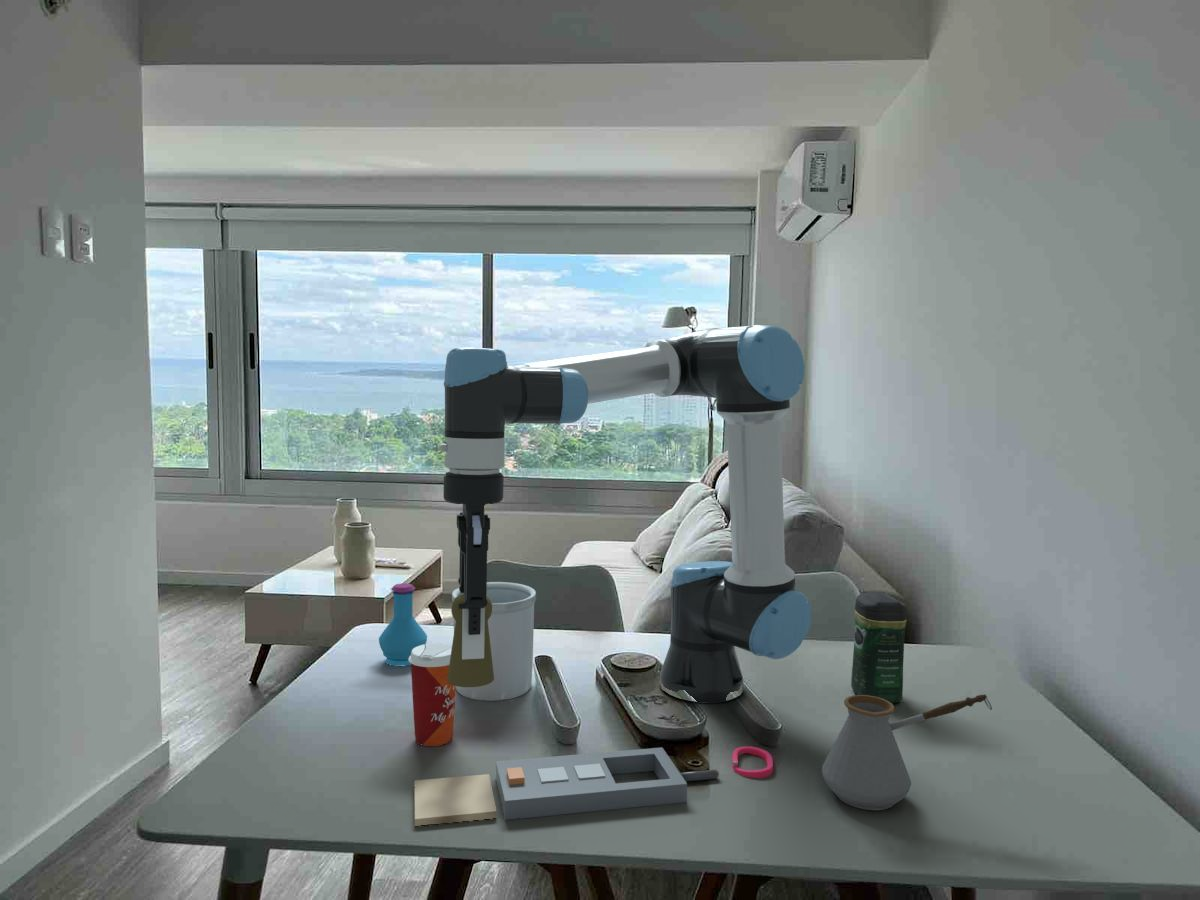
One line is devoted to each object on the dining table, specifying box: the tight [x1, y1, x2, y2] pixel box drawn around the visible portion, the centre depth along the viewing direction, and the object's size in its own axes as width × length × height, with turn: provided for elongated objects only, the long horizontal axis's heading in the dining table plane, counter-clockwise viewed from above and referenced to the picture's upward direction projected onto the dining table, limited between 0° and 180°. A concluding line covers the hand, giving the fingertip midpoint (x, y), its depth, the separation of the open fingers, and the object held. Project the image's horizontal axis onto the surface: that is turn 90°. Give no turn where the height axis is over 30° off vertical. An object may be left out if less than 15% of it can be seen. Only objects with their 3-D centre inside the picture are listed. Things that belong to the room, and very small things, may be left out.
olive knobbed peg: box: [447, 594, 494, 687], centre depth 105 cm, size 6×6×11 cm
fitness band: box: [731, 745, 774, 779], centre depth 119 cm, size 8×6×2 cm
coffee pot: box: [821, 694, 993, 811], centre depth 109 cm, size 21×12×15 cm, turn 84°
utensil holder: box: [451, 581, 537, 702], centre depth 147 cm, size 15×15×18 cm
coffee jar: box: [850, 590, 908, 704], centre depth 146 cm, size 10×8×19 cm
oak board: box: [414, 773, 497, 827], centre depth 106 cm, size 10×10×1 cm
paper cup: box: [409, 642, 457, 747], centre depth 125 cm, size 8×8×14 cm
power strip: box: [495, 747, 720, 821], centre depth 111 cm, size 31×11×3 cm, turn 103°
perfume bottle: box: [378, 582, 428, 666], centre depth 160 cm, size 9×9×15 cm
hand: (471, 650), depth 105 cm, fingers closed on olive knobbed peg, 5 cm apart
